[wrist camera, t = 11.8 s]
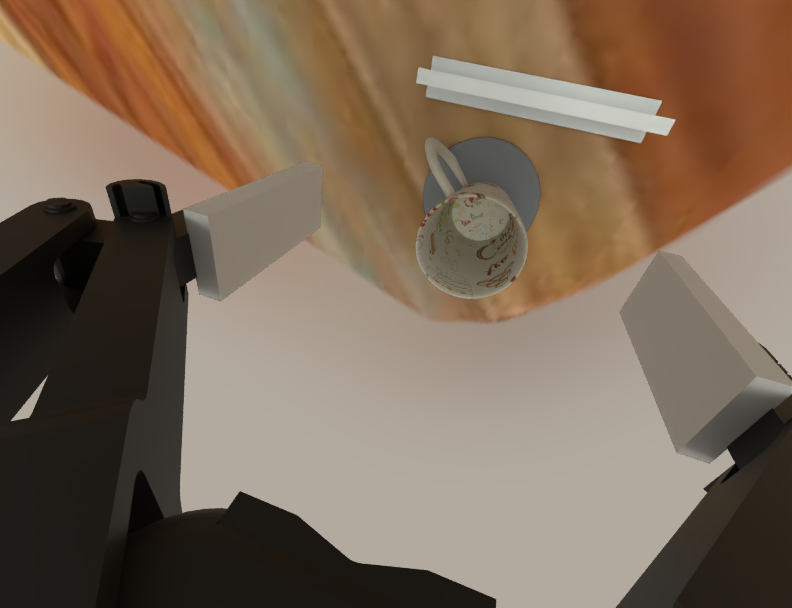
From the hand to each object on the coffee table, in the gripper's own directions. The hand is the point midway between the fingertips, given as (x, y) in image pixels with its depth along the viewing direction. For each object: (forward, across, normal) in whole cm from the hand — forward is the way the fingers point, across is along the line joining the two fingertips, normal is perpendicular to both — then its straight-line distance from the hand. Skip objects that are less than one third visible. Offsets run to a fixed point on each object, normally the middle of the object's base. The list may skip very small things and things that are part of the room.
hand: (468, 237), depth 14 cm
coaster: (+22, 0, -5) cm, 23 cm away
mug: (+22, -1, -4) cm, 22 cm away
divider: (+22, +2, +4) cm, 23 cm away
